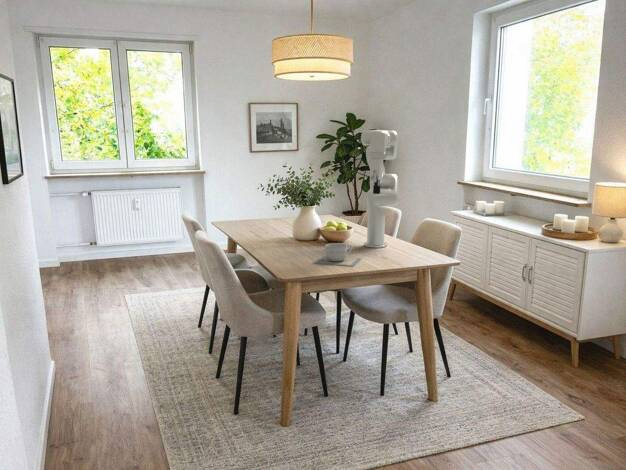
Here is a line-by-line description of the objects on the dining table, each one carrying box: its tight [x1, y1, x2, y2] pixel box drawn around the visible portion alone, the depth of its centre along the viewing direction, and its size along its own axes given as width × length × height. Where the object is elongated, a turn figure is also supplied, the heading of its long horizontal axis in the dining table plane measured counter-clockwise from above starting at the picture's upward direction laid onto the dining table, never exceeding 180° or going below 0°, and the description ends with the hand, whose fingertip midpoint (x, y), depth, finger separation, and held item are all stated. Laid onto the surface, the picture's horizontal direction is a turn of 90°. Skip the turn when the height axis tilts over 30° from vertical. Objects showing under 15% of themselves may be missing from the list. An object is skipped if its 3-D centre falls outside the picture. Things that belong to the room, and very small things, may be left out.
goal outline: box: [313, 254, 362, 268], centre depth 255 cm, size 16×20×1 cm
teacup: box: [324, 242, 353, 262], centre depth 257 cm, size 14×11×8 cm
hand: (376, 193), depth 259 cm, fingers closed
